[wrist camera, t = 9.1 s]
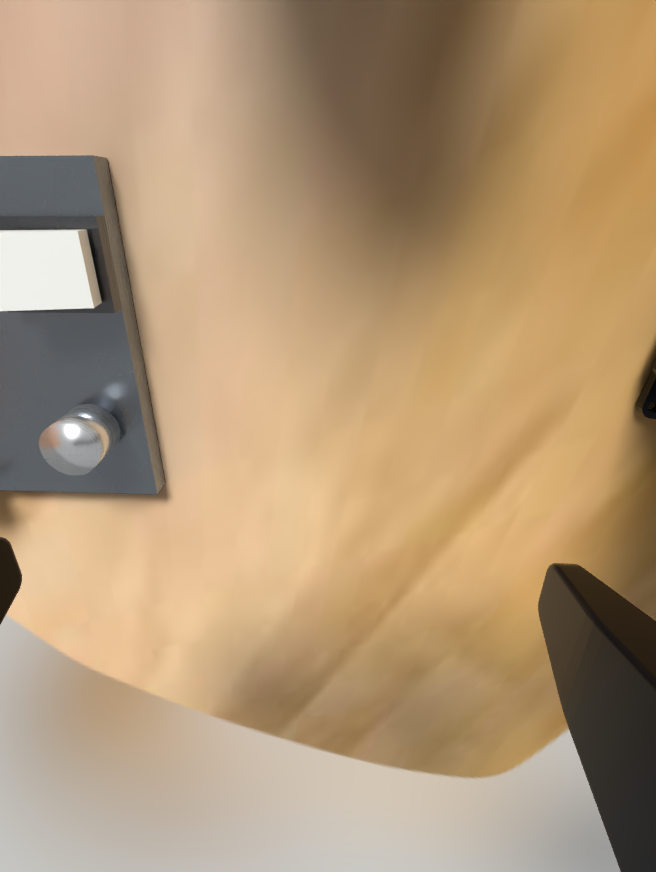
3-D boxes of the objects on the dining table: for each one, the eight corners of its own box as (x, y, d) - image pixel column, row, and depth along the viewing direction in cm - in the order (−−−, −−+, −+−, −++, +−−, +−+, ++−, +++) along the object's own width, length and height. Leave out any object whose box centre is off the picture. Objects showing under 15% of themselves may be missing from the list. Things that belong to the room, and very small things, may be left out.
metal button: (114, 404, 19) (90, 424, 18) (124, 452, 20) (102, 476, 18) (61, 403, 19) (32, 423, 18) (74, 450, 20) (47, 475, 19)
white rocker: (86, 229, 16) (77, 231, 15) (101, 302, 17) (94, 308, 16) (-18, 230, 16) (-34, 232, 15) (4, 305, 17) (-9, 311, 16)
